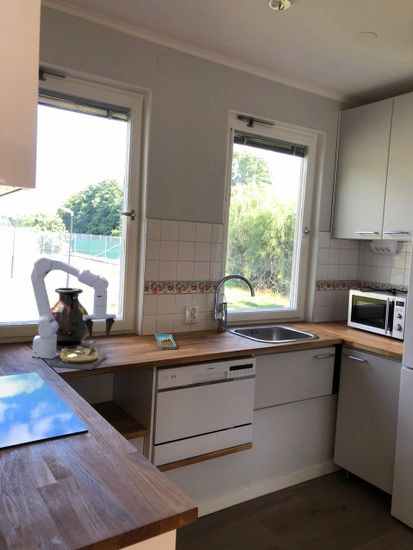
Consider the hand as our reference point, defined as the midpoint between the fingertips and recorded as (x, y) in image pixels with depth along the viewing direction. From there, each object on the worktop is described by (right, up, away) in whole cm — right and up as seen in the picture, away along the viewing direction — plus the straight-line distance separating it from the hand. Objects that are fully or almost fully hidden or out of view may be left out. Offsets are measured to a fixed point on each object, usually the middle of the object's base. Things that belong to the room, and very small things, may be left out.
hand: (98, 335), depth 198 cm
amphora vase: (-20, -8, +19) cm, 28 cm away
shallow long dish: (+26, -10, +38) cm, 47 cm away
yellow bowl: (-7, -9, -6) cm, 13 cm away
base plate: (-7, -10, -6) cm, 14 cm away
